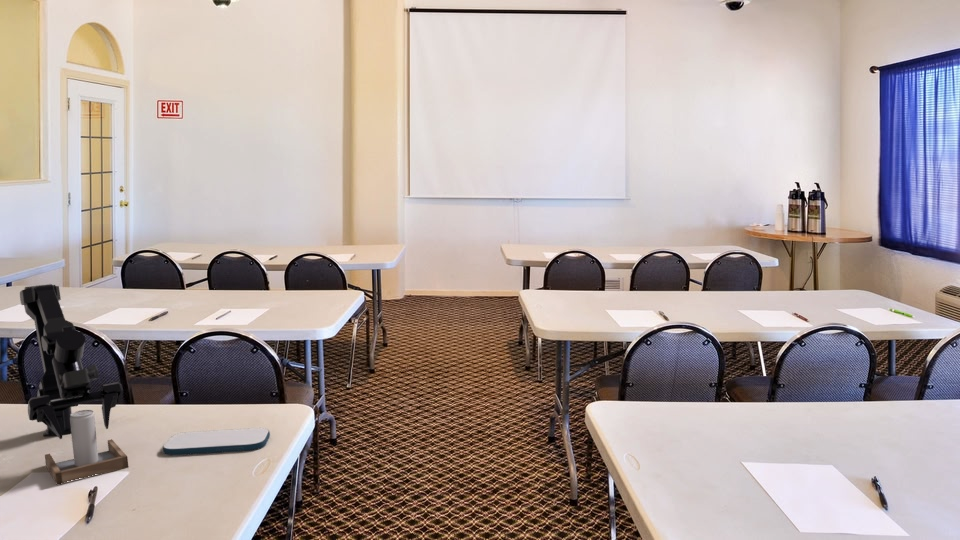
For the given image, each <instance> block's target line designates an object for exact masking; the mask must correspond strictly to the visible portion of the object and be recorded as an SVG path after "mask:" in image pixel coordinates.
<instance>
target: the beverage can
mask: <svg viewBox="0 0 960 540" xmlns="http://www.w3.org/2000/svg"><path fill="white" fill-rule="evenodd" d="M70 416H71V417H70V425H71V433H70V434H71V435H70V436H71V442H72V443H71V444H72V453H73V459H74V463H75V466H76V467H80V466H84V465H88V464H92V463H96V462H98V453H99V452H98V451H99V450H98V439H97V430H96V418H95V413H94V410H93V409H82V410H77V411H73V412H72V414H71V415H70Z"/></svg>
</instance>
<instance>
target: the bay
mask: <svg viewBox="0 0 960 540" xmlns="http://www.w3.org/2000/svg"><path fill="white" fill-rule="evenodd" d="M107 448H108V450H106V451H102V452H98V462H96V463H92V464H88V465H84V466H80V467H76V466H75V463H74V458H72V459H67V460H64V461H63V460H62V461H59V462H55V460H54V458H53V456H52V455H51V453H45V454H44V459H45V462H44V463H45V466H46V468H47V470H48V472H49V473H50V475H51V476H53V477H52V478H54V479H53V480H54V482H55V483H57V484H60V485H62V484H61V483H64V482H67V481H71V480H75V479H79V478H83V479H85V478H84V477H87V478H89V477H88V476H91V477H93V476H92V475H95V474H99V475H102V474H101V473H103V474H106V473H111V472H114V471H119V470H122V469H126V468H129V459H128V455H127V454H126V453H125V452H124V451H123V450H122V448H120V447H119V445H118V444H117V443H116V442H115V441H114V440H113V439H108V440H107ZM95 476H96V475H95ZM79 480H80V479H79ZM75 481H76V480H75ZM57 484H56V485H57ZM64 484H65V483H64Z"/></svg>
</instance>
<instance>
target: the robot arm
mask: <svg viewBox="0 0 960 540" xmlns="http://www.w3.org/2000/svg"><path fill="white" fill-rule="evenodd" d="M61 297H62V296H61V292H60V286H59V285H56V284H52V283H49V284H40V285H31V286H25V287H24V289H22V290H21V291H20V292H19V299H20V304H21V306H23V307H24V312H25V314H26V315H27V316H28V317H29V318H31V319H32V320H33V321H34V325H35V331H36V337H37V341H38V342H37V343H38V347H39V353H40V354H39V355H40V357H41V363H42V369H43V375H42V378H41V381H40V382H39V385H38V388H39V389H37V395H36V396H34V397H30V399H29V400H28V402H27V403H28V404H27V414H28V415H27V416H28V419H29V421H32V422H33V421H36V422H37V423H43V424H44V425H45V426H46V430H45V431H44V433H43V434H42V435H43V437H47V436H55V435H56V436H57V438H58V439H59V440H62V439H63V435H65V434H71V425H70V417H71V416H70V415H71V414H72V413H73V412H72V407H79V405H80V404H81V405H82V404H85V403H90V402H95V401H101V404H102V405H101V413H102V419H103V424H104V427H105V429H106V430H107V429H109V425H110V424H109V423H110V417H111V416H110V414H111V411H112V408H115V407H116V406H117V405H118V404H119V403H121V402H122V399H123V398H122V397H123V394H124V389H123V384H122V383H120V382H118V381H117V382H112V383H106V384H101V390H100V391H93V392H90V390H91V389H92V385H91V383H92V382H91V381H95V380H98V379H99V376H100V374H99V369H98V367H97V365H96V364H93V365H92V364H91V365H87V366H86V368H84V366H83V364H82V359H83V356H84V351H85V344H86V336H85V335H84V334H83V333H82V332H81V331H79V330H76V326H75V325H74V324H73V322H71V321H68V319H67V320H66V317H65V315H64V313H63V309H62V308H61V303H60V302H59V301H61V300H62V299H61Z"/></svg>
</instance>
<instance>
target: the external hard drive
mask: <svg viewBox="0 0 960 540" xmlns="http://www.w3.org/2000/svg"><path fill="white" fill-rule="evenodd" d="M270 436H271V432H270V430H269V429H268V428H265V427H251V428H250V427H249V428H235V429H234V428H233V429H218V430H200V431H199V430H198V431H186V432H180V433H175V434H173V435H172V436H170V437H169V438H168V439H167V441H166V442H165V443H164V445H163V446H162V451H163V454H164V455H166V456H184V455H185V456H189V455H202V454H217V453H233V452H234V453H235V452H237V453H238V452H250V451H255V450H257V451H258V450H260V449H263V448H264V447H265V446H266V445H267V443H268V442H269V439H270ZM188 454H189V455H188Z"/></svg>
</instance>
